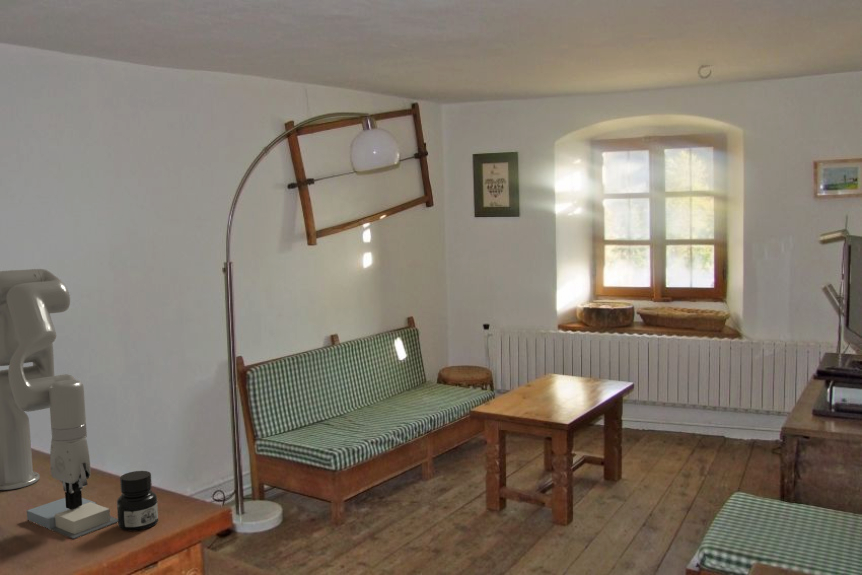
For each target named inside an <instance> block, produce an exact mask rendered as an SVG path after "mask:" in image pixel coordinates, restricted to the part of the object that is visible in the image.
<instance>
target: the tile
mask: <svg viewBox="0 0 862 575" xmlns="http://www.w3.org/2000/svg"><path fill="white" fill-rule="evenodd" d="M110 516H111V513H110V508H109V507H106V506H102V505H100V504H97V503H96V504H94V503H92V502H89V503H86V504H83V505H82V506H79V507H76V508H74V509H69V510H66V511H63V512H60V513H57V514H55V523H56V527H58V528H60V529H63V530H65V531H68V532H70V533H73V534H77V533H79V532H82V531H85V530H87V529H90V528H93V527H95V526H98V525H101V524H103V523H106V522H109V521H110Z"/></svg>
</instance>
